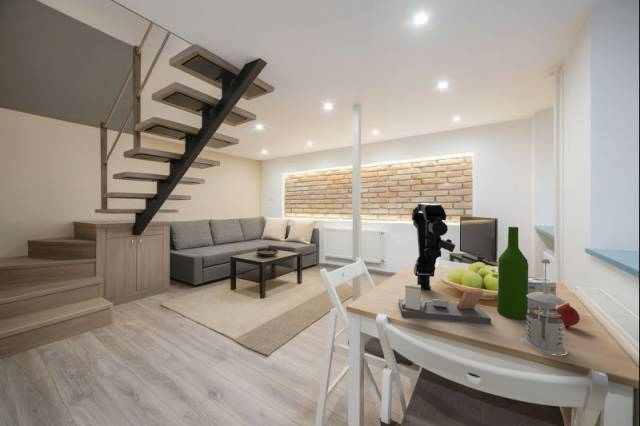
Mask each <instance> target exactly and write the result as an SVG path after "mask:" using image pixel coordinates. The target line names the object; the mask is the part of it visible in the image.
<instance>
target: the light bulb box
mask: <svg viewBox="0 0 640 426" xmlns="http://www.w3.org/2000/svg"><path fill="white" fill-rule="evenodd" d="M544 291H545V277H541V278H540V277H536V278H528V294H529V293H532V292H544ZM546 293H550V294H552V295H555V296H557V282H556V281H552V280H550V279H546ZM539 306H540V308H543V309H544V303H539V302H536V301H533V300H530V299H529V298H528V309H529V308H533V307H537V308H539ZM547 308H548V309H549V310H554V309H557V305H550V304H545V309H547Z"/></svg>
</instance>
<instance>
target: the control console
mask: <svg viewBox="0 0 640 426" xmlns="http://www.w3.org/2000/svg"><path fill="white" fill-rule="evenodd" d="M397 301H398V302H397V303H398V308H399V311H400V315H401V317H402V318H403V317H404V318H414V319H415V318H416V319H427V320H428V319H429V320H436V321H437V320H438V321H439V320H440V321H449V322H462V323H463V322H464V323H472V324H473V323H474V324H475V323H476V324H484V325H485V324H486V325H492V317H490V315H489V314H487V312H485V311H484V310H483V309H481V307H480V306H478V305H477V304H476V306H475V308H474V309H458V308H457V305H458V303H454V302H453V303H452V302H449V306H438V305H433V304H432V301H430V300H429V301H426V300H424V299H423V300H421V308H420V310H414V309H409V308H405V298H403V299H400V298H399V299H398V300H397Z"/></svg>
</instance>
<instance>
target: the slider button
mask: <svg viewBox="0 0 640 426" xmlns="http://www.w3.org/2000/svg"><path fill="white" fill-rule="evenodd" d="M404 286H405V289H404V290H405V298H404V299H405V308H409V309H414V310H420V308H421V301H422V298H421V297H422V296H421V295H422V291H421V290H422V289H421V285H417V283H415V284H414V283H410V282H409V283H407V282H406V283H405V285H404Z"/></svg>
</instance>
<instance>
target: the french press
mask: <svg viewBox="0 0 640 426" xmlns="http://www.w3.org/2000/svg"><path fill="white" fill-rule="evenodd" d="M540 263H541V264H544V279H545V291H544V292H532V293H529V294H527V295H526V296H527V298H529V299H530V300H533V301H536V302H539V303H544V309H543V308H540V306H539V308H537V307H533V308H528V313H527V319H525V321H526V328H525V330H526V332H525V335H526V336H525V337H523V338H521V341H523V342H522V343H523V344H524V345H525V346H526V347H528V348H529V349H532V350H534V351H537V352H538V353H541V354H544V355H545V354H546V355H549V354H556V355H561V354H565V353H566V350H567V349H566V347H564V342H562V341H564V338H563V337H564V331H565V330H564V327H565V326H564V322H563V321H562V320H561V319H560V318H561V317H562V316H561V315H560V314H559V313H557V312H555V311H556V310H555V311H554V310H553V309H548V308H547V309H545V304H550V305H556V306H557V305H558V306H562V305H564V304H565V300H563V299H562V298H560V297H559V296H557V295H556V296H555V295H552V294H550V293H546V278H547V265H549V264H550V263H551V261H550V259H547V258H543V259H541V261H540ZM562 332H563V333H562ZM565 349H566V350H565Z"/></svg>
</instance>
